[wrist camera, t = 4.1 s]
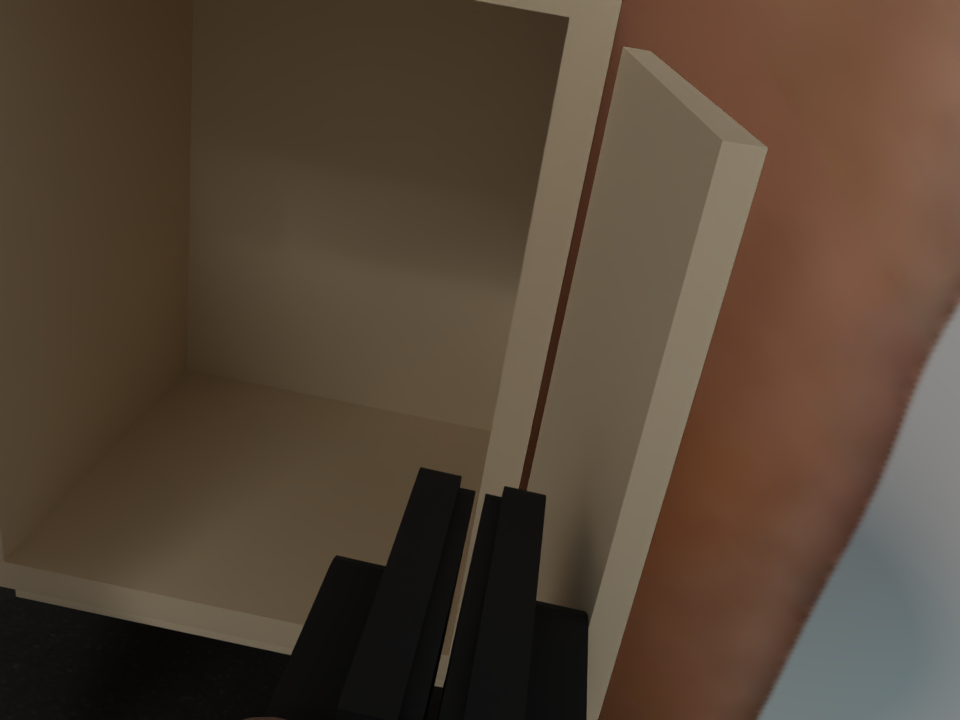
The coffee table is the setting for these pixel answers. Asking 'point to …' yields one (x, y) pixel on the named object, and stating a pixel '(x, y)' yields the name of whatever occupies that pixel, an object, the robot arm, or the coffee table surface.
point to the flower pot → (127, 669)
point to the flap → (635, 339)
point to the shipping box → (272, 285)
